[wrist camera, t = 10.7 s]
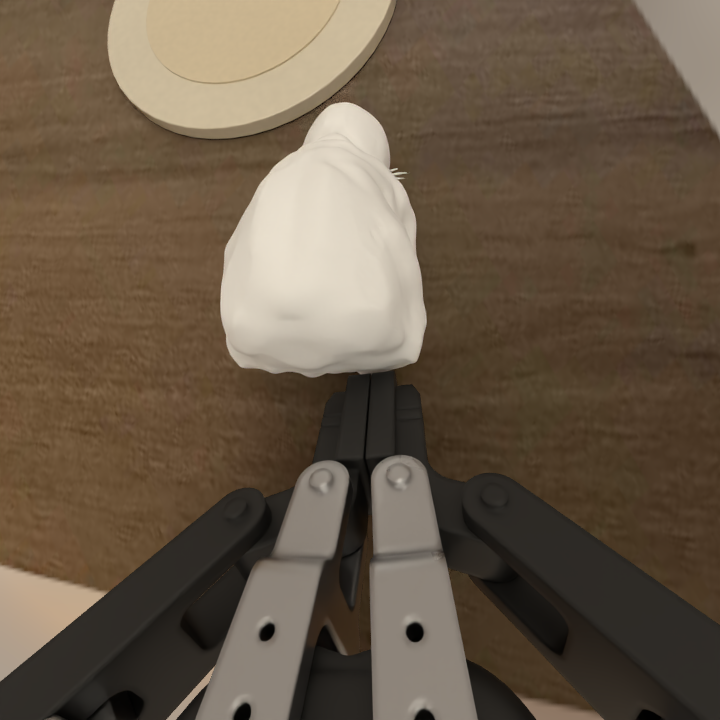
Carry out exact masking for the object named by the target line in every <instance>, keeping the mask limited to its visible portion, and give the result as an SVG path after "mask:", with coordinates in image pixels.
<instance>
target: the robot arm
mask: <svg viewBox="0 0 720 720" xmlns="http://www.w3.org/2000/svg"><path fill="white" fill-rule="evenodd" d="M368 515H372V523H373V558H371V560H370V613H371V649H370V650H367V651H364V652H361V653H360V633H359V611H360V603H361V595H362V587H363V580H364V572H365V564H366V557H367V549H368V536H367V524H368ZM229 568H230V569H229ZM448 568H450V569H453V570H456V571H459V572H462V573H465V574H468V575H469V577H470V578H471V580H472V581H473V582H474V584H475V585H476V586H477V587H478V588H479V589H480V590H481V591H482V592H483V593H484V594H485V595H486V596H487V597H488V598H489V599H490V600H491V601H492V602H493V604H494V605H495V606H496V607H497V608H498V609H499V610H500V611H501V612H502V613H503V614H504V615H505V616H506V617H507V618H508V619H509V620H510V621H511V622H512V623H513V624H514V626H515V627H516V628H517V629H518V630H519V631H520V632H521V633H522V634H523V635H524V636H525V637H526V638H527V639H528V640H529V641H530V642H531V643H532V644H533V645H534V646H535V648H536V649H537V650H538V651H539V652H540V653H541V654H542V655H543V656H544V657H545V658H546V659H547V660H548V661H549V662H550V663H551V664H552V665H553V666H554V667H555V668H556V670H557V671H558V672H559V673H560V674H561V675H562V676H563V677H564V678H565V679H566V680H567V681H568V682H569V683H570V684H571V685H572V686H573V687H574V688H575V689H576V690H577V692H578V693H579V694H580V695H581V696H582V697H583V698H584V699H585V700H586V701H587V702H588V703H589V704H590V705H591V706H592V707H593V708H594V709H595V710H596V711H597V712H598V714H599V715H600V716H601V717H602V718H603V719H604V720H720V625H719V624H717V623H716V622H715V621H713V620H712V619H710V618H709V617H707V616H706V615H705V614H703V613H702V612H700V611H699V610H697V609H696V608H695V607H693V606H692V605H690V604H689V603H688V602H686V601H685V600H683V599H682V598H680V597H679V596H678V595H676V594H675V593H673V592H672V591H671V590H669V589H668V588H666V587H665V586H663V585H662V584H661V583H659V582H658V581H656V580H655V579H653V578H652V577H651V576H649V575H648V574H646V573H645V572H644V571H642V570H641V569H639V568H638V567H636V566H635V565H634V564H632V563H631V562H629V561H628V560H627V559H625V558H624V557H622V556H621V555H619V554H618V553H617V552H615V551H614V550H612V549H611V548H610V547H608V546H607V545H605V544H604V543H602V542H601V541H600V540H598V539H597V538H595V537H594V536H592V535H591V534H590V533H588V532H587V531H585V530H584V529H583V528H581V527H580V526H578V525H577V524H575V523H574V522H573V521H571V520H570V519H568V518H567V517H566V516H564V515H563V514H561V513H560V512H558V511H557V510H556V509H554V508H553V507H551V506H550V505H548V504H547V503H546V502H544V501H543V500H541V499H540V498H539V497H537V496H536V495H534V494H533V493H531V492H530V491H529V490H527V489H526V488H524V487H523V486H522V485H520V484H519V483H517V482H516V481H514V480H513V479H511V478H509V477H507V476H504V475H501V474H496V473H483V474H479V475H477V476H474V477H473V478H471V479H470V480H469V481H467V482H466V483H465V482H461V481H456V480H452V479H448V478H446V477H443V476H441V475H440V474H438V473H437V472H436V471H434V470H433V469H432V467H431V466H430V465H429V463H428V459H427V450H426V440H425V431H424V423H423V415H422V407H421V399H420V394H419V392H418V391H417V390H416V389H415V387H414V386H413V385H412V384H410V385H401V386H397V381H396V375H395V371H386V372H377V373H372V375H371V373H369V374H360V375H351V376H348V380H347V386H346V391H345V392H336V393H334V394H333V395H332V396H331V398H330V399H329V400H328V402H327V403H326V406H325V410H324V414H323V419H322V423H321V428H320V432H319V436H318V441H317V445H316V450H315V454H314V458H313V463H312V465H311V466H309V467H308V468H306V469H305V470H304V471H303V472H302V473H301V475H300V476H299V478H298V480H297V482H296V485H295V486H294V487H292V488H290V489H288V490H285V491H283V492H280V493H277V494H274V495H271V496H269V497H266V498H264V496H263V494H262V493H261V492H260V491H259V490H257V489H254V488H241V489H238V490H235V491H233V492H231V493H229V494H228V495H226V496H225V497H224V498H222V499H221V500H220V501H219V502H218V503H216V504H215V505H214V506H213V507H211V508H210V509H209V510H208V511H207V512H205V513H204V514H203V515H202V516H201V517H199V518H198V519H197V520H196V521H194V522H193V523H192V524H191V525H190V526H188V527H187V528H186V529H185V530H184V531H182V532H181V533H180V534H179V535H178V536H176V537H175V538H174V539H173V540H171V541H170V542H169V543H168V544H167V545H165V546H164V547H163V548H162V549H161V550H159V551H158V552H157V553H156V554H154V555H153V556H152V557H151V558H150V559H148V560H147V561H146V562H145V563H144V564H142V565H141V566H140V567H139V568H138V569H136V570H135V571H134V572H133V573H131V574H130V575H129V576H128V577H127V578H125V579H124V580H123V581H122V582H121V583H119V584H118V585H117V586H116V587H114V588H113V589H112V590H111V591H110V592H108V593H107V594H106V595H105V596H104V597H102V598H101V599H100V600H99V601H98V602H96V603H95V604H94V605H93V606H91V607H90V608H89V609H88V610H87V611H86V612H84V613H83V614H82V615H81V616H79V617H78V618H77V619H76V620H74V621H73V622H72V623H71V624H70V625H68V626H67V627H66V628H65V629H64V630H62V631H61V632H60V633H59V634H57V635H56V636H55V637H54V638H53V639H51V640H50V641H49V642H48V643H47V644H46V645H44V646H43V647H42V648H41V649H39V650H38V651H37V652H36V653H35V654H33V655H32V656H31V657H30V658H28V659H27V660H26V661H25V662H24V663H22V664H21V665H20V666H19V667H17V668H16V669H15V670H14V671H13V672H11V673H10V674H9V675H8V676H7V677H6V678H4V679H3V680H2V681H1V682H0V720H166V719H167V718H168V717H169V716H170V715H171V713H172V712H173V711H174V710H175V709H176V708H177V707H178V706H179V705H180V703H181V702H182V701H183V700H184V699H185V698H186V697H187V696H188V695H189V694H190V692H191V691H192V690H193V689H194V688H195V687H196V686H197V685H198V684H199V683H200V682H201V680H202V679H203V678H204V677H205V676H206V675H207V674H208V673H209V671H210V670H211V669H212V668H213V667H214V666H215V668H214V671H213V674H212V676H211V679H210V681H209V683H208V685H206V686H205V687H204V688H203V689H202V690H201V691H200V692H199V694H198V695H197V696H196V697H195V698H194V699H193V700H192V702H191V703H190V704H189V705H188V706H187V708H186V709H185V710H184V711H183V712H182V713H181V715H180V716H179V717H178V718H177V719H176V720H536V719H535V717H534V716H533V715H532V714H531V712H530V711H529V710H528V708H527V707H526V706H525V705H524V704H523V702H522V701H521V700H520V699H519V698H518V697H517V696H516V695H515V694H514V693H513V692H512V691H511V690H510V689H509V687H508V686H507V685H505V684H504V683H503V682H502V681H501V680H499V679H498V678H497V677H496V676H495V675H493V674H492V673H490V672H489V671H487V670H486V669H484V668H483V667H481V666H479V665H477V664H475V663H473V662H471V661H469V660H467V659H466V658H465V653H464V648H463V643H462V638H461V633H460V628H459V623H458V618H457V613H456V608H455V603H454V598H453V593H452V588H451V583H450V578H449V573H448ZM228 569H229V570H228ZM227 570H228V571H227ZM226 571H227V572H226ZM225 572H226V573H225ZM224 573H225V574H224ZM223 574H224V575H223ZM222 575H223V576H222ZM221 576H222V577H221ZM220 577H221V578H220ZM219 578H220V579H219ZM218 579H219V580H218ZM217 580H218V581H217ZM216 581H217V582H216ZM215 582H216V583H215ZM214 583H215V584H214ZM204 592H205V593H204ZM203 593H204V594H203ZM202 594H203V595H202ZM201 595H202V596H201ZM200 596H201V597H200ZM199 597H200V598H199ZM198 598H199V599H198ZM197 599H198V600H197ZM196 600H197V601H196ZM195 601H196V602H195ZM194 602H195V603H194Z"/></svg>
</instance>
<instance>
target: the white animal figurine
mask: <svg viewBox="0 0 720 720" xmlns="http://www.w3.org/2000/svg"><path fill="white" fill-rule="evenodd" d="M389 168H390V151H389V145H388V141H387V137H386V135H385V132H384V130H383V128H382V126H381V125H380V123H379V122H378V121H377V120H376V119H375V118H374V117H373V116H372V115H371V114H370V113H368V112H367V111H365V110H364V109H362V108H361V107H359V106H357V105H355V104H352V103H347V102H343V103H336V104H332V105H330V106H328V107H327V108H326V109H325V110H324V111H323V112H322V113H321V114H320V115H319V116H318V118H317V119H316V120H315V122H314V123H313V125H312V126H311V128H310V130H309V131H308V134H307V136H306V138H305V141H304V144H303V146H302V147H301V148H299V149H298V150H297V152H293V153H291V154H289V155H288V156H287V157H285V158H284V159H283V160H282V161H280V162H279V163H277V164H276V165H275V166H274V167H273V168H272V170H271V171H270V173H269V174H268V175H267V176H266V177H265V178H264V180H263V181H262V182H261V183H260V185H259V186H258V188H257V190H256V192H255V194H254V197H253V199H252V201H251V203H250V204H249V206H248V207H247V209H246V211H245V212H244V214H243V216H242V218H241V220H240V222H239V224H238V226H237V228H236V230H235V232H234V233H233V235H232V237H231V238H230V240H229V242H228V244H227V246H226V248H225V254H224V271H223V279H222V284H221V302H220V310H221V319H222V323H223V327H224V330H225V333H226V344H227V348H228V350H229V352H230V354H231V356H232V358H233V359H234V360H235V361H236V362H237V364H238V365H239V366H240V367H242V368H257V369H262V370H266V371H268V372H270V373H273V374H278V373H282V372H297V373H300V374H303V375H305V376H307V377H318V376H321V375H323V374H325V373H331V374H338V373H343V372H358V373H359V374H369V373H371V375H372V373H377V372H386V371H389V370H393V369H397V368H401V367H404V366H406V365H408V364H412V363H415V362H416V361H417V359H418V357H419V354H420V350H421V347H422V343H423V336H424V331H425V328H426V324H427V319H426V310H425V306H424V302H423V288H422V278H421V272H420V267H419V263H418V259H417V256H416V218H415V214H414V211H413V209H412V207H411V205H410V202H409V198H408V195H407V193H406V191H405V189H404V187H403V186H402V184H401V183H400V182H399V181H398V180H399V179H406V178H396V177H395V176H396V175H400V174H405V173H406V172H398V173H393V174H392V173H391V172H392V171H395V170H397V168H396V169H390V170H389Z"/></svg>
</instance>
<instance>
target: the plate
mask: <svg viewBox="0 0 720 720" xmlns="http://www.w3.org/2000/svg"><path fill="white" fill-rule="evenodd" d="M396 1H397V0H115V2H114V6H113V9H112V13H111V16H110V21H109V28H108V55H109V61H110V65H111V68H112V71H113V74H114V77H115V79H116V81H117V83H118V85H119V86H120V88H121V90H122V91H123V93H124V94H125V95H126V96H127V98H128V99H129V100H130V101H131V102H132V103H133V105H134V106H135V107H136V108H137V109H138V110H139V111H140V112H141V113H142V114H144V115H145V116H146V117H147V118H148V119H149V120H151V121H152V122H154V123H156V124H157V125H159V126H161V127H162V128H165V129H167V130H170V131H172V132H175V133H177V134H181V135H185V136H190V137H194V138H205V139H227V138H237V137H242V136H248V135H253V134H257V133H260V132H264V131H267V130H270V129H273V128H276V127H278V126H281V125H283V124H286V123H288V122H290V121H293V120H295V119H296V118H298V117H300V116H302V115H304V114H306V113H307V112H309V111H311V110H313V109H314V108H316V107H317V106H319V105H320V104H322V103H323V102H324V101H326V100H327V99H329V98H330V97H331V96H333V95H334V94H335V93H336V92H337V91H338V90H340V89H341V88H342V87H343V86H344V85H346V84H347V83H348V82H349V81H350V80H351V79H352V77H353V76H354V75H355V74H356V73H357V72H358V71H359V70H360V69H361V68H362V67H363V66H364V64H365V63H366V62H367V60H368V59H369V58H370V56H371V55H372V54H373V52H374V51H375V49H376V48H377V46H378V44H379V43H380V41H381V39H382V38H383V36H384V34H385V32H386V30H387V27H388V25H389V23H390V20H391V18H392V16H393V12H394V9H395V5H396Z"/></svg>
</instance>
